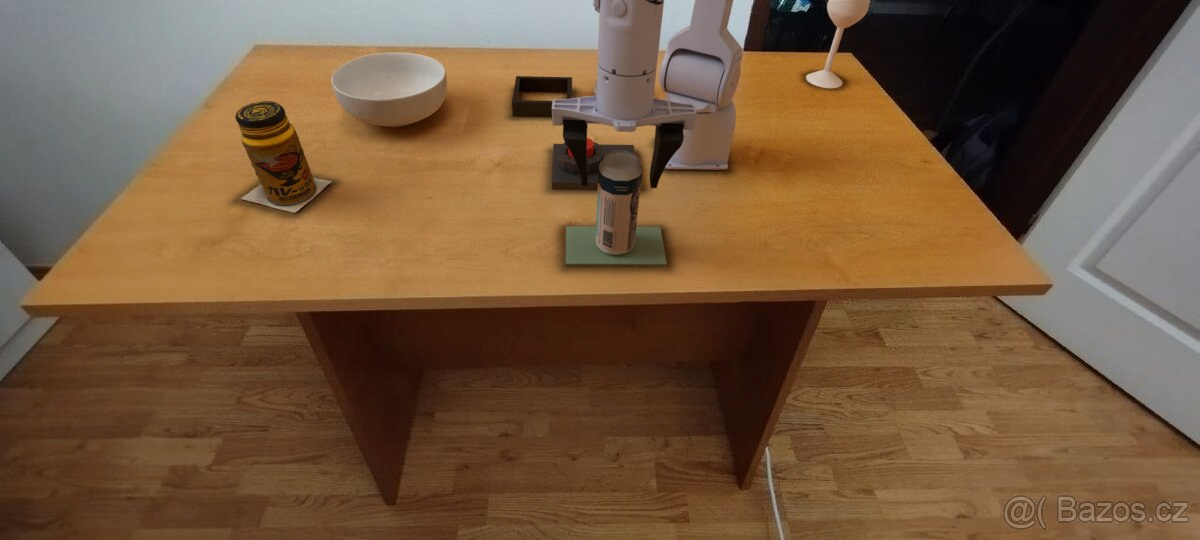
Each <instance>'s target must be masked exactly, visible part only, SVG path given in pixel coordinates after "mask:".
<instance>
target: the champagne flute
mask: <svg viewBox="0 0 1200 540" xmlns="http://www.w3.org/2000/svg"><path fill="white" fill-rule="evenodd" d="M870 4H871V0H828V2H827V4H826V10H827V14H828V16H829V18H830V20H831V21H832V23H833V25H834V26H835V27H836V31H835V33H834V37H833V40H832V44H831V47H830V50H829V53H828V55H827V59H826V62H825V65H824V69H821V70H817V71H814V72H810V73H808V74H806V76H805V80H806V81H807V82H808V83H810V84H811V85H814V86H816V87H819V88H823V89H837V88H840V87H842V86H843V80H842V79H841V78H839V77H838V76H837V75H836V74H835V73H834V72H833V71H832V68H833V65H834V61H835V58H836V55H837V52H838V49H839V46H840V42H841V40H842V36H843V34H844V31H845V29H847V28H850V27H851V26H854V24H857V23H858V22H859V21H861V20H862V19H864V17H865V16H866V15H867V13H868V11H869V7H870Z"/></svg>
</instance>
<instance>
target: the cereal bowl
mask: <svg viewBox="0 0 1200 540" xmlns="http://www.w3.org/2000/svg"><path fill="white" fill-rule="evenodd" d="M330 83H331V87H332V91H333V94H334V96H335V98H336V101H337V103H338V104H339V105H340V107H341V108H342V109H343V111H345V112H346V113H347V114H348V115H349V116H351V117H352V118H355V119H356V120H359V121H360V122H363V123H365V124H370V125H374V126H375V125H376V126H382V127H386V128H387V127H388V128H397V127H398V128H399V127H406V126H409V125H412V124H414V123H415V124H416V122H420V121H422V120H425V119H426V118H428V117H430V116H431V115H433V114H434V113H435V112H437V111H438V110H439V108H441V106H442V105H443V103H444V101H445V99H446V95H447V92H448V91H447V90H448V80H447V72H446V68H445V66H444V65H443V64H442V62H440V61H439V60H437V59H436V58H433V57H430V56H427V55H424V54H419V53H415V52H414V53H413V52H405V51H403V52H402V51H389V52H388V51H387V52H376V53H371V54H367V55H362V56H359V57H355V58H353V59H350V60H348V61H346V62H344V63H342V64H341V65H340V66H339V67H337V68H336V69H335V70H334V71H333V73H332V75H331V78H330Z"/></svg>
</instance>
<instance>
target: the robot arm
mask: <svg viewBox="0 0 1200 540" xmlns="http://www.w3.org/2000/svg"><path fill="white" fill-rule="evenodd" d="M733 3H734V0H694V2H693V7H692V13H691V18H690V24H689V25H688V26H686V27H684V28H682V29H681V30H679V31H677V32H675V33H674V34H673V35H672V36H671V37H670V38H669V40H668V42H667V46H666V50H665V54H664V56H663V59H662V61H661V65H660V67H659V68H660V69H659V73H658V83H659V86H660V90H661V91H662V92H663V93H665V99H661V98H657V97H655V89H656V79H657V70H658V61H659V60H658V59H659V52H660V41H661V34H662V33H661V32H662V23H663V15H664V5H665V0H593V3H592V4H593V7H594V11H595V12H596V13H598V39H597V65H596V66H597V69H596V70H597V71H596V79H597V94H596V95H587V96H581V97H572V99H567V98H561V99H559V98H557V99H552V101H553V104H552V117H551V121H552V122H551V125H552V126H556V127H557V126H558V127H560V126H562V138H563V141H564V142H565V144H566V145H567V147H568V148H569V150H570V152H571V153H572V155H573V157H574V160H575V162H576V165H577V168H578V171H579V174H580V179H581V186H587V185H588V160H587V138H588V124H595V125H604V126H608V127H609V126H610V127H613V129H614V131H616V132H620V133H634V132H636V130H637V128H641V127H646V126H652V127H653V126H654V127H655V129H654V145H653V152H652V156H651V163H650V167H649V186H650V189H657V188H658V185H659V182H660V180H661V177H662V175H663V172H664V170H703V171H705V170H706V171H707V170H708V171H709V170H710V171H713V170H714V171H715V170H716V171H727V170H728V168H729V165H728V161H729V158H730V157H729V156H730V152H731V147H732V143H733V138H734V135H735V129H736V123H737V121H736V119H737V112H736V105H735V102H734V100H733V99H734V96H735V94H736V92H737V89H738V86H739V83H740V77H741V67H742V66H741V65H742V60H743V55H744V53H743V47H742V46H741V45H740V43H739V42H738V41H737V39H736V38H735V37H734V35H732V34H731V32H730V31H729V29H728V26H729V21H730V17H731V12H732V9H733V8H732V7H733Z"/></svg>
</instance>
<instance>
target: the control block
mask: <svg viewBox="0 0 1200 540" xmlns="http://www.w3.org/2000/svg"><path fill="white" fill-rule="evenodd" d="M593 142H594V155H593V157H592V158H588V159H587V160H588V185H587V186H581V179H580V174H579V171H578V168H577V165H576V162H575V160H574V158H571V157H569V155H568V147H567V145H566V144H565V141H564V142H562V143H553V145H552V167H551V168H552V169H551V190H577V191H578V190H579V191H580V190H584V191H587V190H588V191H589V190H595V191H598V170H599V164H600V163H601V161H602V160H603V158H604V157H605V155H606V154H608V153H610V152H613V151H627V152H629V153H632V154H634V155H636V150H635V145H634V144H605V143H604V144H602V143H601V144H600V143H598V142H595V141H593Z"/></svg>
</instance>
